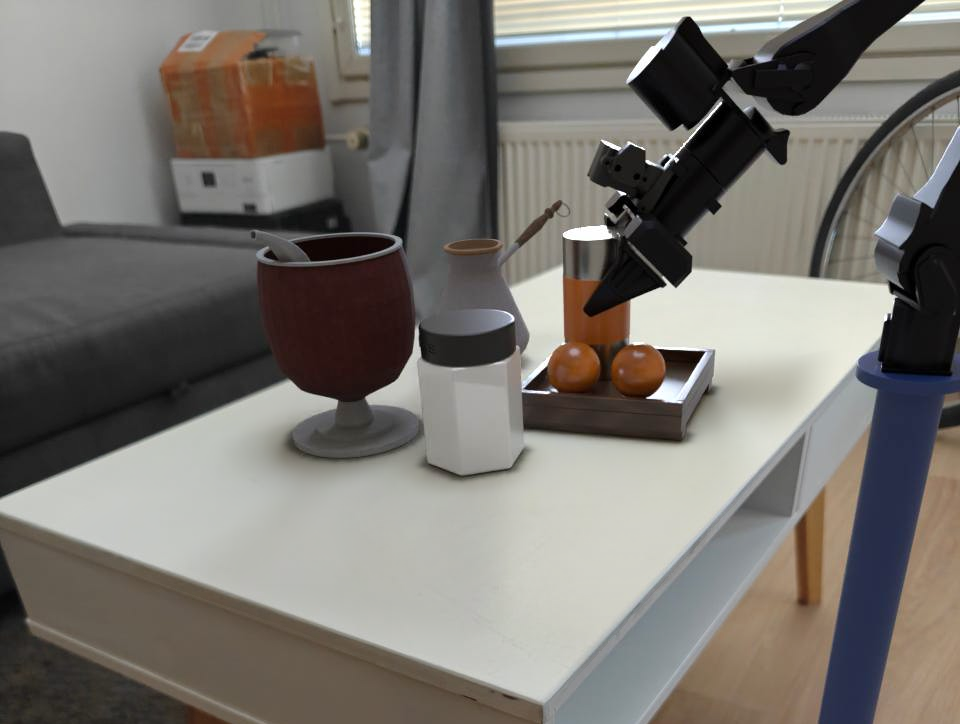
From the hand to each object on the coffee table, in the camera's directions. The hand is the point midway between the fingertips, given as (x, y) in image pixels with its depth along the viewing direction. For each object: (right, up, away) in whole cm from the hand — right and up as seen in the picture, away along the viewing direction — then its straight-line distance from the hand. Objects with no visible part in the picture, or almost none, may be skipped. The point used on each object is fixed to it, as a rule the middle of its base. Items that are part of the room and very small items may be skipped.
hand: (582, 304), depth 90 cm
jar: (-10, -16, -6) cm, 20 cm away
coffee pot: (-7, +1, +19) cm, 20 cm away
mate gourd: (-23, -13, 0) cm, 26 cm away
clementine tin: (+2, -5, +4) cm, 7 cm away
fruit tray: (+4, -10, +2) cm, 10 cm away
